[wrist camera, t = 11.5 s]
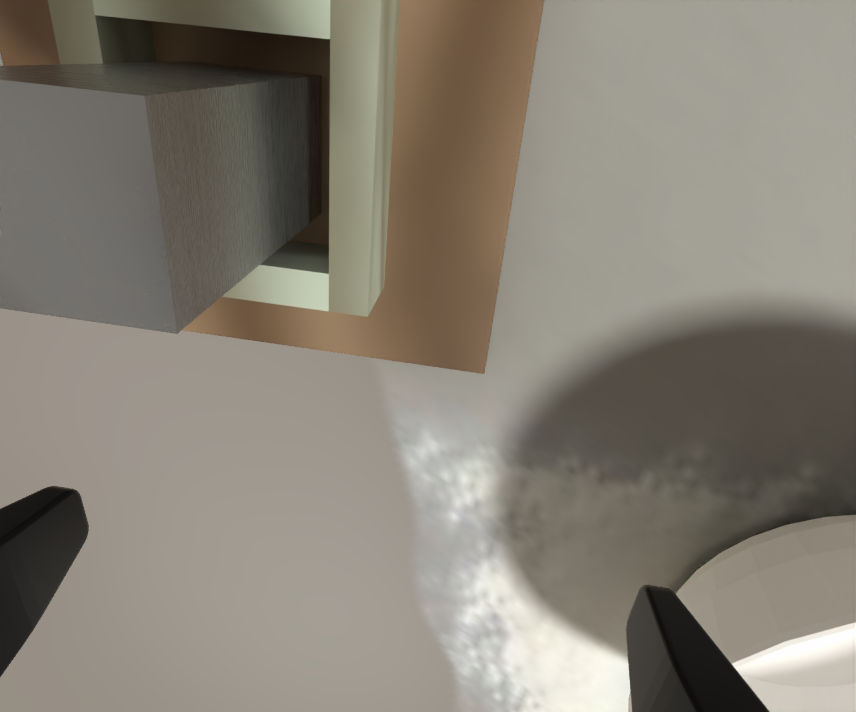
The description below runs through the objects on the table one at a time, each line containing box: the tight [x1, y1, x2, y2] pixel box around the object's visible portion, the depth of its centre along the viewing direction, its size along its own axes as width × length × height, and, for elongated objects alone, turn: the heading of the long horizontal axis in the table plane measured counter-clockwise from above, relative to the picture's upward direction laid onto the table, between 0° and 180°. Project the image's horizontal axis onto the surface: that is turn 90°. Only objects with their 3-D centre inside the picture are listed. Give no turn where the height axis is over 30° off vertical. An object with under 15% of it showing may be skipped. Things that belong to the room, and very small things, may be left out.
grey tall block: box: [0, 61, 322, 334], centre depth 14 cm, size 4×4×9 cm
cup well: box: [0, 0, 544, 374], centre depth 17 cm, size 16×14×4 cm
